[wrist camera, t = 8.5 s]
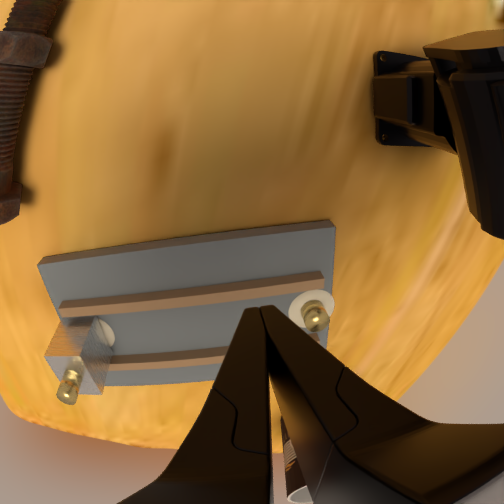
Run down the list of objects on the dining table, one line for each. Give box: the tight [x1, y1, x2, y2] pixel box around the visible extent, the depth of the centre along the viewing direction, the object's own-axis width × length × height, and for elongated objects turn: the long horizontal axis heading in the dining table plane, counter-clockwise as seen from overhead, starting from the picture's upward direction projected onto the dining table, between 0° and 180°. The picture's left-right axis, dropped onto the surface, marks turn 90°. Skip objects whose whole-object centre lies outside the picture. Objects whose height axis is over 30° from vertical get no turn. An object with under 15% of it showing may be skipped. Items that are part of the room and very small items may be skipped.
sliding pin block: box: [44, 315, 113, 405], centre depth 19 cm, size 3×4×6 cm
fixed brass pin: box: [300, 300, 330, 332], centre depth 23 cm, size 2×2×2 cm
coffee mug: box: [281, 417, 313, 503], centre depth 28 cm, size 12×9×10 cm
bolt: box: [0, 0, 62, 225], centre depth 12 cm, size 6×5×15 cm
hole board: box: [37, 220, 336, 386], centre depth 23 cm, size 21×13×2 cm, turn 94°
